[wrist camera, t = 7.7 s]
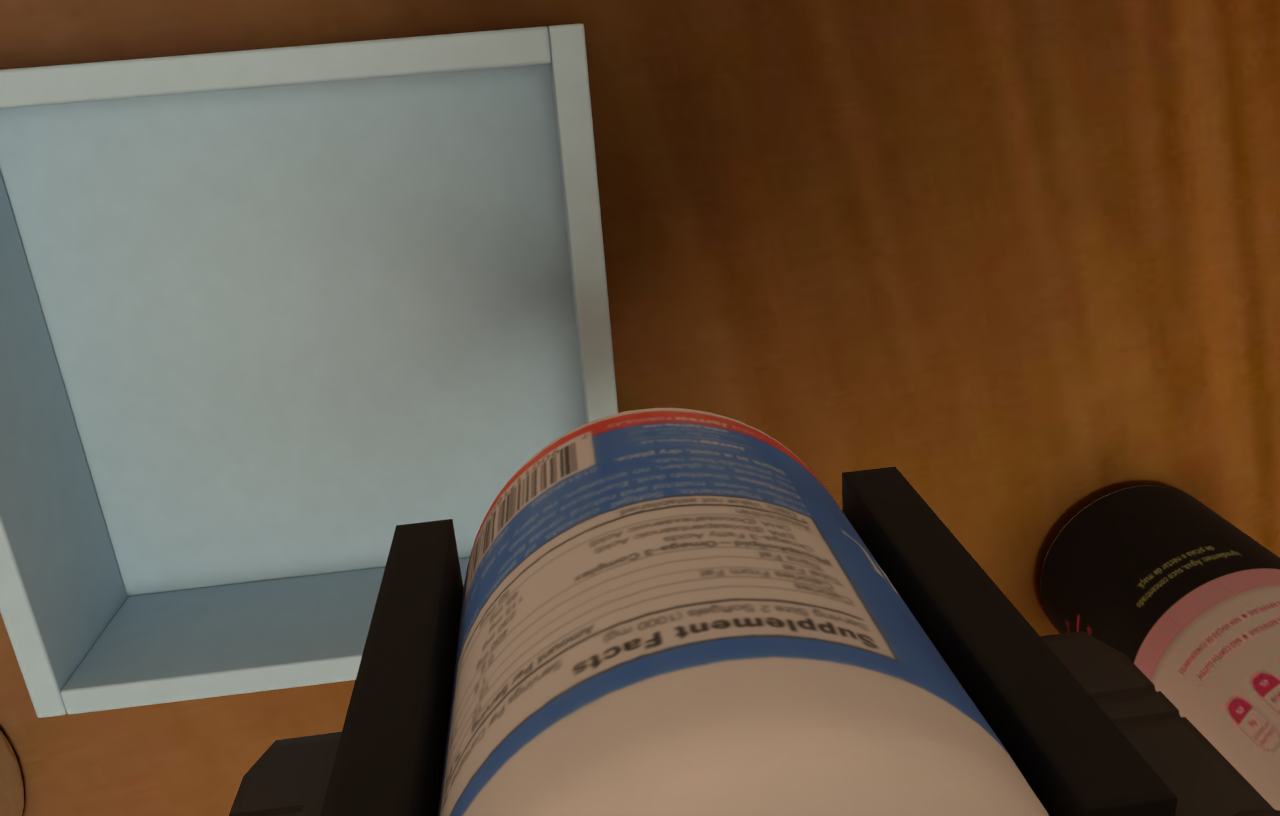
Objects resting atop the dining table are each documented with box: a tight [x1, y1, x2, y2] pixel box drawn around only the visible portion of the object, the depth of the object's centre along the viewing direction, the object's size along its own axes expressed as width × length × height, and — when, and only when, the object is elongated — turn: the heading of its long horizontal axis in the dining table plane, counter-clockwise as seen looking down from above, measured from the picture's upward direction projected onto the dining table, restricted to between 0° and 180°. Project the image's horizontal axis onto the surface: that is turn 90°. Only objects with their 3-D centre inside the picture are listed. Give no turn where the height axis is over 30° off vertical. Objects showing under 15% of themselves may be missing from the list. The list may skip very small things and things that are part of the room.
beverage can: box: [1040, 485, 1280, 811], centre depth 29 cm, size 6×7×15 cm
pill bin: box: [0, 23, 618, 718], centre depth 28 cm, size 17×17×6 cm
